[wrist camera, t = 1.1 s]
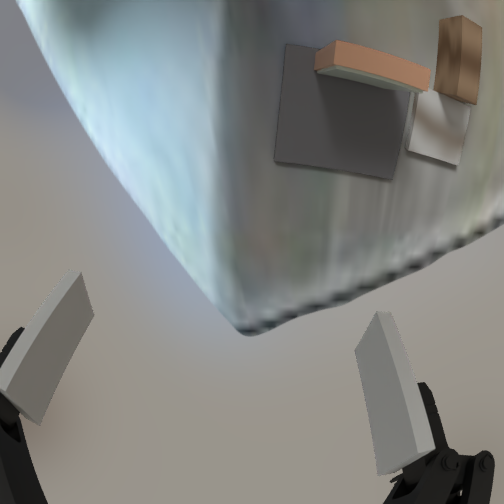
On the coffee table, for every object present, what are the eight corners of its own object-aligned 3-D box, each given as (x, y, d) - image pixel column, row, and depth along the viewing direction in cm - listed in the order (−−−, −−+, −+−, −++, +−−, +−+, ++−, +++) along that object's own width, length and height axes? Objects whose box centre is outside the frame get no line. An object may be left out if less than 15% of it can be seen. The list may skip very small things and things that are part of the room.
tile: (315, 52, 23) (336, 39, 15) (388, 70, 23) (430, 69, 15) (313, 72, 24) (333, 67, 17) (385, 89, 24) (427, 95, 17)
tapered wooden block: (421, 11, 18) (443, 5, 14) (472, 38, 18) (496, 37, 14) (404, 148, 28) (424, 160, 24) (453, 163, 28) (475, 176, 24)
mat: (286, 44, 23) (286, 43, 23) (410, 74, 23) (412, 74, 23) (273, 159, 30) (273, 161, 30) (390, 178, 30) (392, 179, 30)
